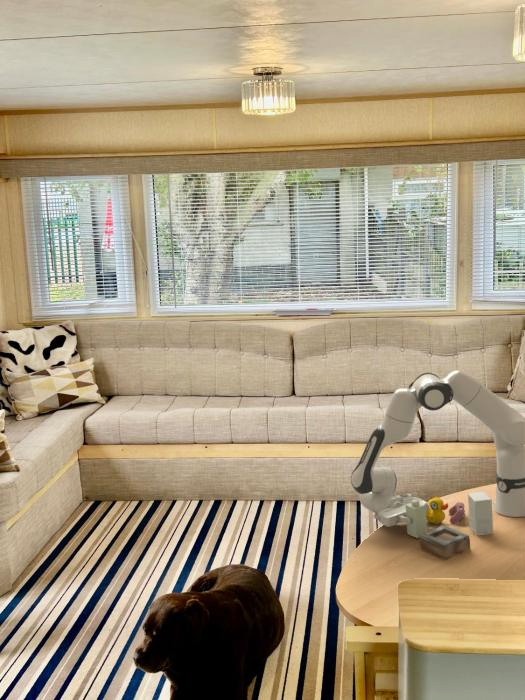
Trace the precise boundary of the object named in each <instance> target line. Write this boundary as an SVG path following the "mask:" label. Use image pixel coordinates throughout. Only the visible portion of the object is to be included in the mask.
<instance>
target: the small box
mask: <svg viewBox="0 0 525 700" xmlns="http://www.w3.org/2000/svg"><path fill="white" fill-rule="evenodd" d="M467 500H468V501H467V503H468V520H469V523H468V524H469V528H470V529H471V530H472V532H473V533H474V534H475V536H483V535H492V534H494V526H493V525H494V524H493V523H494V521H493V504H492V503H493V499H492V498H491V497H490V496H489V495H488V494H487V492H485V491H479V492H469V493H467Z"/></svg>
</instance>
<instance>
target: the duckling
mask: <svg viewBox="0 0 525 700" xmlns="http://www.w3.org/2000/svg"><path fill="white" fill-rule="evenodd" d="M427 503H428V512H426V521H427V522H429V523H432V524H435V525H438V524H440V523H442V522H443V521H444V520H445V519H446V514H445V512H444V511H447V510H448V509H449V503H444V501H443V499H442V498H440V497H437V496H436V497H433V498H432V499H429V500H428V502H427Z"/></svg>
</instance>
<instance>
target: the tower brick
mask: <svg viewBox="0 0 525 700" xmlns="http://www.w3.org/2000/svg"><path fill="white" fill-rule="evenodd" d="M406 517H407V518H408V517H410V518H412V519H413V523H410V524H408V523H406V530H407V531H406V532H407V534H408V535H409V536H412V537H415V538H416V539H417V538H418V539H419V538H420V534H422V533H426V532H428V525H427V523H428V520H426V505H424V504H422V503H419V500H412V501H411V503H410V504H407V505H406Z"/></svg>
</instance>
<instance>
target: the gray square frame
mask: <svg viewBox="0 0 525 700" xmlns="http://www.w3.org/2000/svg"><path fill="white" fill-rule="evenodd" d="M418 539H419V549H420V550H422V551H424V552H426V553H427V554H431V555H433V556H434V557H436V558H439V559H441V558H442V559H441V560H443V559H444V561H447V560H449V559H452V558H454V557H457V556H458V555H461V554H463V553H465V552H467V550H468V551H469V550H471V539H470V535H469V534H467V533H464V532H462V531H459V530H457V529H455V528H452V527H450V526H447V525H445V524H441V525H440V526H439V527H437V528H434V529H432V530H428V531H427V532H426V533H422V534H420V537H418ZM462 552H463V553H462Z"/></svg>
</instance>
